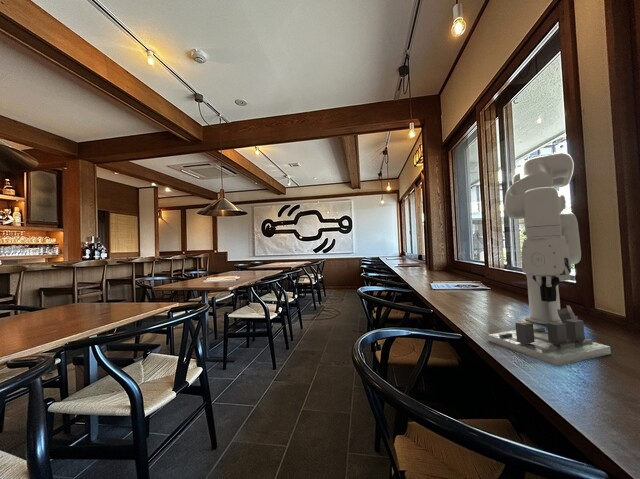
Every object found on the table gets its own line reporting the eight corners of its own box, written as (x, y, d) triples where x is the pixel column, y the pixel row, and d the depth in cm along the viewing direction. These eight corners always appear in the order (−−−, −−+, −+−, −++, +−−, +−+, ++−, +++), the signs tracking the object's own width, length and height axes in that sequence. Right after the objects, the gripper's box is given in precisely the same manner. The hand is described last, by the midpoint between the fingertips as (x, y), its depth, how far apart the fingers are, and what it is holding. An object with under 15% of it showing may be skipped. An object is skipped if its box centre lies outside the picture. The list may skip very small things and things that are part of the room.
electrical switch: (585, 340, 87) (578, 310, 88) (563, 339, 90) (557, 310, 91) (581, 332, 94) (575, 305, 95) (562, 331, 97) (556, 305, 98)
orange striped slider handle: (525, 339, 83) (524, 320, 84) (534, 342, 81) (533, 322, 81) (516, 341, 82) (515, 321, 83) (525, 343, 80) (523, 324, 80)
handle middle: (557, 340, 81) (555, 321, 81) (567, 343, 79) (565, 323, 79) (548, 342, 80) (547, 322, 81) (558, 344, 78) (556, 325, 78)
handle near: (574, 337, 83) (573, 318, 83) (584, 339, 81) (583, 320, 81) (566, 338, 82) (564, 320, 82) (576, 341, 80) (574, 322, 80)
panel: (534, 332, 96) (533, 324, 96) (610, 353, 76) (609, 342, 76) (488, 340, 91) (487, 331, 91) (557, 365, 71) (556, 353, 71)
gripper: (507, 235, 82) (512, 298, 81) (563, 231, 67) (570, 307, 66) (527, 234, 84) (531, 295, 83) (585, 230, 69) (592, 304, 68)
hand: (548, 300), depth 75 cm, fingers closed
